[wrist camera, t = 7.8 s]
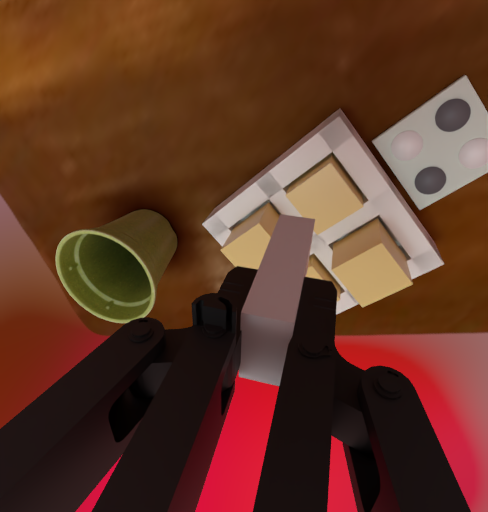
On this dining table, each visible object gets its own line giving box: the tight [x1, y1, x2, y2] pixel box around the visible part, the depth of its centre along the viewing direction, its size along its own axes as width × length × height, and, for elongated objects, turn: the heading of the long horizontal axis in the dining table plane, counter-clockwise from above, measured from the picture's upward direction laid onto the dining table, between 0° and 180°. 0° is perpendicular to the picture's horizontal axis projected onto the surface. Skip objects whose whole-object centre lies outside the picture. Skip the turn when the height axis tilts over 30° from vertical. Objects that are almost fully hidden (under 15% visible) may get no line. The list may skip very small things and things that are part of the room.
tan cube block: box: [306, 253, 341, 301], centre depth 32 cm, size 4×4×4 cm
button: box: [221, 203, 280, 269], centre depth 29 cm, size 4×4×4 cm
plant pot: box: [56, 209, 177, 323], centre depth 34 cm, size 9×9×9 cm
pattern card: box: [372, 75, 488, 210], centre depth 27 cm, size 7×7×1 cm
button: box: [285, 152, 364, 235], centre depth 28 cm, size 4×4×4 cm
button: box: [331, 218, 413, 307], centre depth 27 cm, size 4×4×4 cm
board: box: [202, 108, 444, 314], centre depth 31 cm, size 14×14×4 cm
